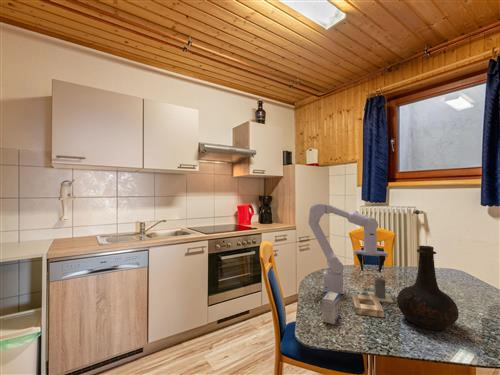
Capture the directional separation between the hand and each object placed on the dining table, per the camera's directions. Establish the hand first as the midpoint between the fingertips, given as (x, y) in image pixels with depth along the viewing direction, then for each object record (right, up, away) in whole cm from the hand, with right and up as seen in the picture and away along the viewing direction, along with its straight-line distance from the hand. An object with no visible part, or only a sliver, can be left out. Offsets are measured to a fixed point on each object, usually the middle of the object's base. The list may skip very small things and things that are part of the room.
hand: (370, 270), depth 119 cm
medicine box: (-27, -10, -25) cm, 39 cm away
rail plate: (-10, -10, -16) cm, 22 cm away
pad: (+1, -10, -6) cm, 12 cm away
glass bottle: (+6, -10, -29) cm, 31 cm away
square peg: (+1, -10, -6) cm, 12 cm away
